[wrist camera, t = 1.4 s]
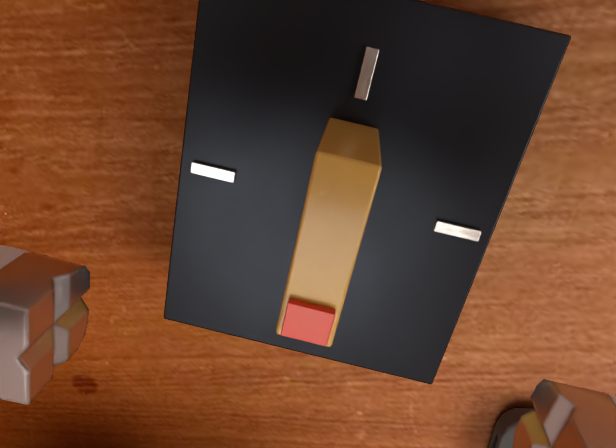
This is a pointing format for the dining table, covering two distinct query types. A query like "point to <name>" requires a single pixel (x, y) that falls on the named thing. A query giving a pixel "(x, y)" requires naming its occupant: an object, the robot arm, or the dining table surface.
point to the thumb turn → (330, 231)
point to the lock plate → (394, 159)
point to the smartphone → (507, 428)
